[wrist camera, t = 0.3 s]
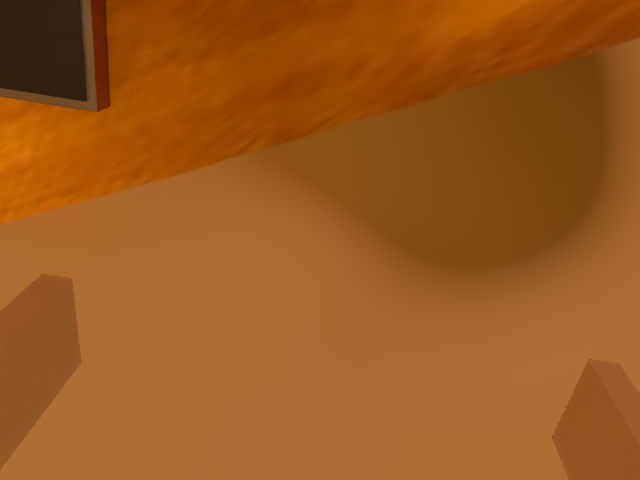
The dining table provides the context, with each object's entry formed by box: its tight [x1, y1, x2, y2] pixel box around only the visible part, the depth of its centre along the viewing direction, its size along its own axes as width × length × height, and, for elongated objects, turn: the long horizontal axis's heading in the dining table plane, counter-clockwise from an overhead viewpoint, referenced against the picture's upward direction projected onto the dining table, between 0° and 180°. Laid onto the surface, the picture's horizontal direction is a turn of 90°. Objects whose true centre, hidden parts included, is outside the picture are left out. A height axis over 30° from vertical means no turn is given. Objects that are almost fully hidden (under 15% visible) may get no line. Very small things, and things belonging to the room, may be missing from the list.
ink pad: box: [0, 0, 110, 112], centre depth 35 cm, size 11×8×2 cm
